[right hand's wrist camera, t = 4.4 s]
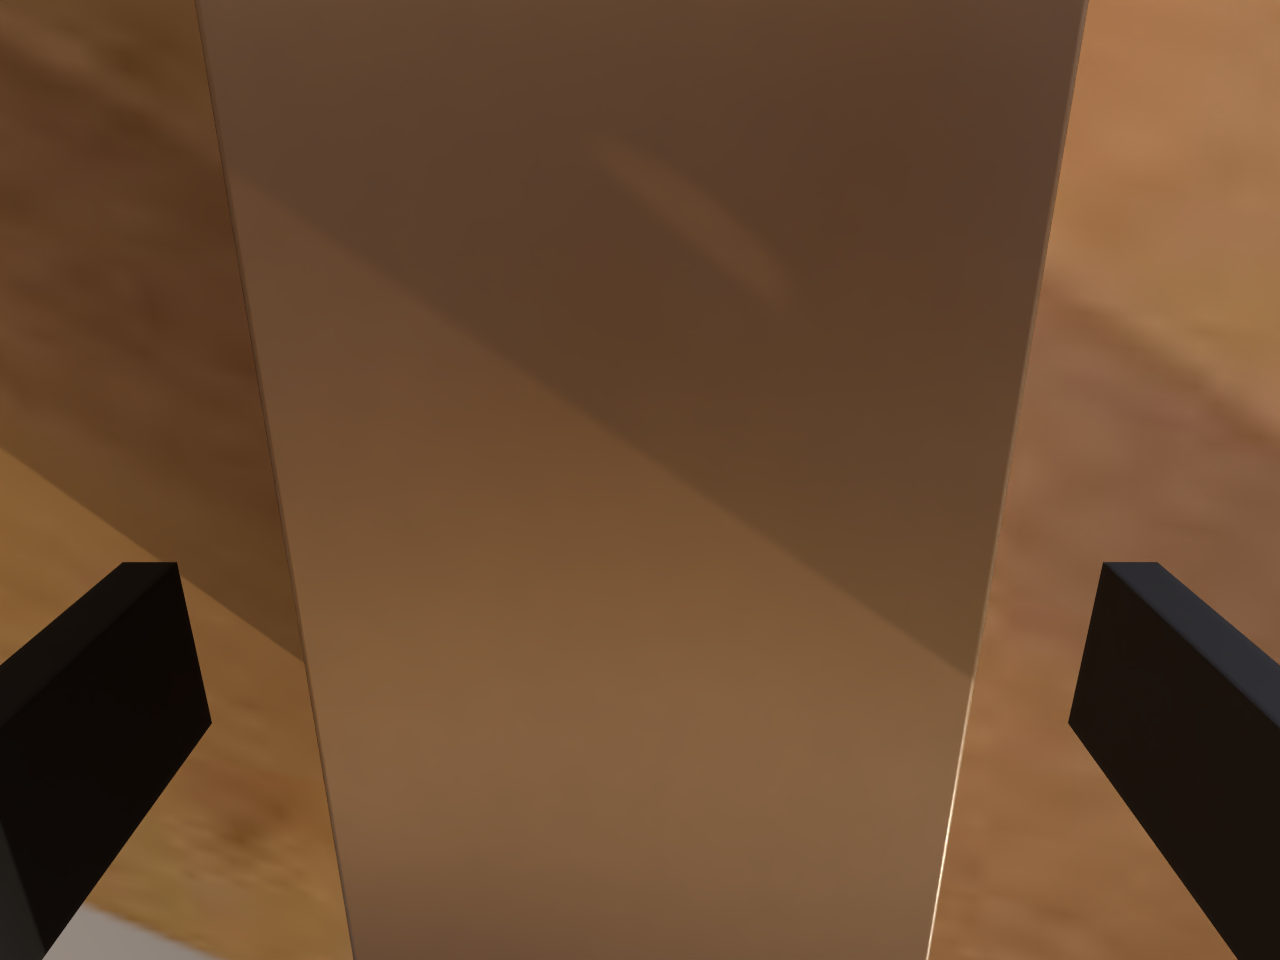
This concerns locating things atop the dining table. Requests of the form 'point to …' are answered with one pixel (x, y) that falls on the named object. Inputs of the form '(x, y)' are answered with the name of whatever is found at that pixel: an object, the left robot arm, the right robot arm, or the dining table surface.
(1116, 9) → the dining table surface
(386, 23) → the post
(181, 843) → the dining table surface
